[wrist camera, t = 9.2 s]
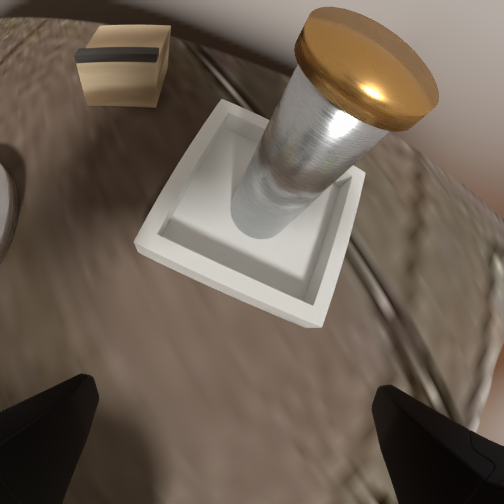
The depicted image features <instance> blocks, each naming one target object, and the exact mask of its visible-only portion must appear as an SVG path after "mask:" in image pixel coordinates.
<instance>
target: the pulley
mask: <svg viewBox="0 0 504 504" xmlns="http://www.w3.org/2000/svg"><path fill="white" fill-rule="evenodd" d="M17 217H18V194H17V189H16V185H15V183H14V180H13V178H12V177H11V175H10V174H9V173H8V172H7V170H6V169H5V168H4V167H3V166H2V165H1V163H0V263H1V261H2V260H3V258H4V257H5V255H6V253H7V251H8V249H9V246H10V244H11V241H12V238H13V235H14V232H15V228H16V224H17Z"/></svg>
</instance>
